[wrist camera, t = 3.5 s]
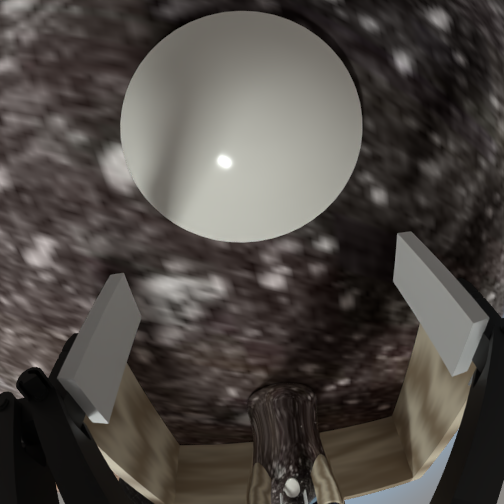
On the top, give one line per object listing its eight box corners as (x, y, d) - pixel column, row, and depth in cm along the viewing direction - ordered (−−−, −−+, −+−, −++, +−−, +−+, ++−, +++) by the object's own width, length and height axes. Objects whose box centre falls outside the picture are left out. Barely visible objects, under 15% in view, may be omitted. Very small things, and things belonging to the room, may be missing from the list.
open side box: (92, 325, 21) (53, 414, 14) (442, 275, 20) (503, 352, 13) (172, 449, 30) (166, 512, 23) (399, 418, 29) (420, 477, 22)
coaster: (106, 44, 12) (102, 43, 12) (344, 7, 12) (348, 5, 11) (154, 251, 18) (152, 256, 18) (361, 221, 18) (365, 226, 17)
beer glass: (306, 423, 28) (329, 564, 15) (235, 419, 27) (238, 572, 14) (333, 380, 24) (374, 550, 11) (250, 375, 24) (261, 567, 10)
